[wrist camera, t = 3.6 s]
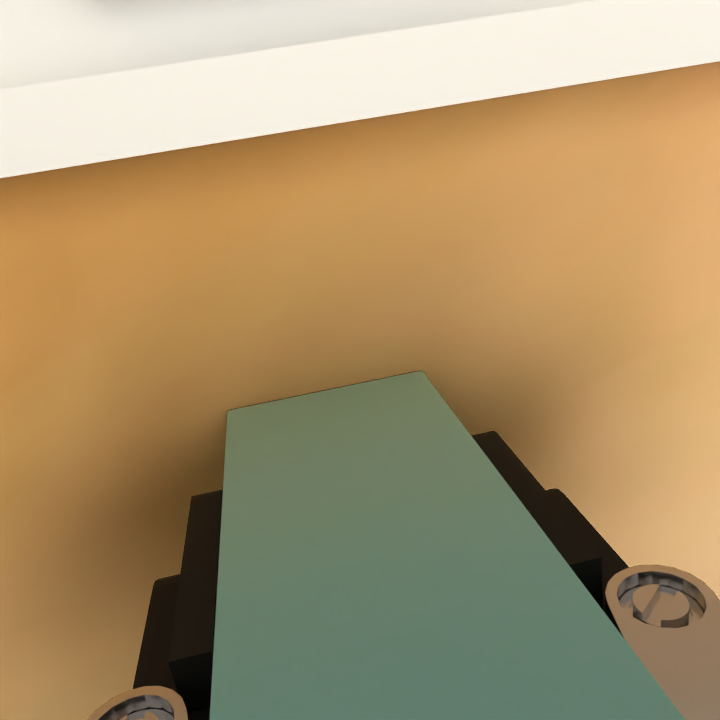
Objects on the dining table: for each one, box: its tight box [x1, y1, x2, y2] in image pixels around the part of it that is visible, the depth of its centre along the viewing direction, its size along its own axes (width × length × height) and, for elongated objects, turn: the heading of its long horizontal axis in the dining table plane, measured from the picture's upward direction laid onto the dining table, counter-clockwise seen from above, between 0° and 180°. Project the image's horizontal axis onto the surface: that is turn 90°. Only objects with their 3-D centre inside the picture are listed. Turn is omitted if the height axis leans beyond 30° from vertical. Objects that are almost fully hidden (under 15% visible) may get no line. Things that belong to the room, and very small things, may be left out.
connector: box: [210, 371, 685, 720], centre depth 9 cm, size 4×4×10 cm
